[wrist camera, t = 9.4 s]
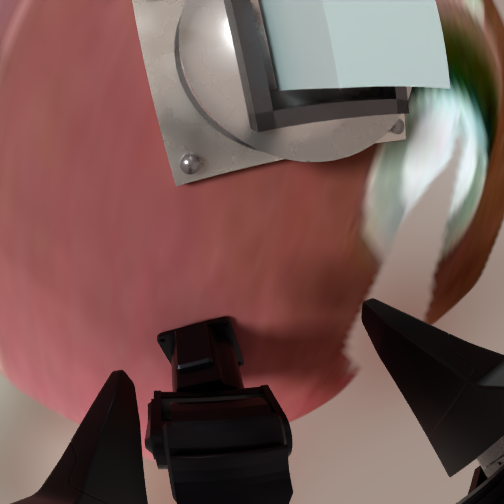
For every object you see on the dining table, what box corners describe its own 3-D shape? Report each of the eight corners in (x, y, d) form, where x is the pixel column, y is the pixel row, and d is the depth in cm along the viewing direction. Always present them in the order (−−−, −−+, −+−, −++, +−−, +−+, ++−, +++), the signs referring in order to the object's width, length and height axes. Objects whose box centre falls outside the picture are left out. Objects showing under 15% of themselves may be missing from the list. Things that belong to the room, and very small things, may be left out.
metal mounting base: (398, 137, 20) (457, 157, 14) (176, 181, 18) (174, 220, 13) (371, -26, 13) (426, -47, 7) (131, -13, 11) (112, -56, 6)
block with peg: (365, 83, 13) (449, 88, 8) (277, 90, 12) (339, 88, 7) (341, -30, 9) (412, -66, 4) (249, -34, 9) (290, -95, 4)
